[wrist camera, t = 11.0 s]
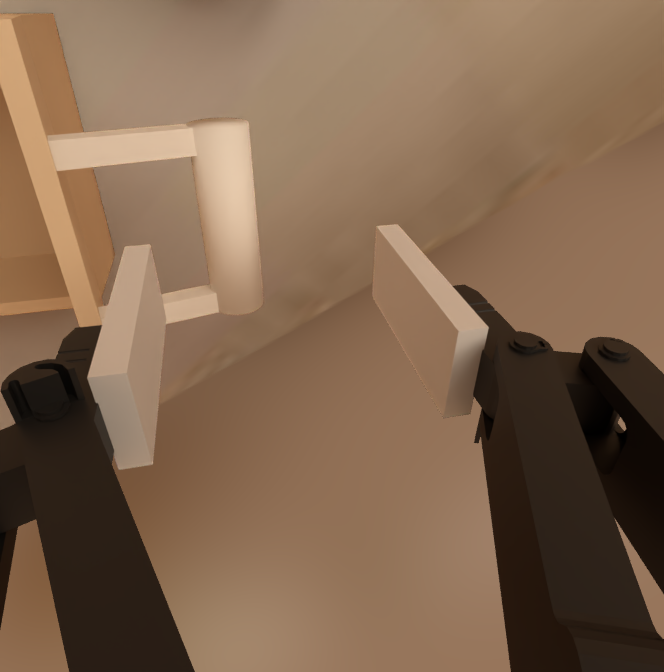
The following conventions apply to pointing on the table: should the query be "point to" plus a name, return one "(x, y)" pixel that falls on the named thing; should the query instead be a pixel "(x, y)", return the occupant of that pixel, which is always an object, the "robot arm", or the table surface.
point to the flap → (129, 147)
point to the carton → (21, 200)
